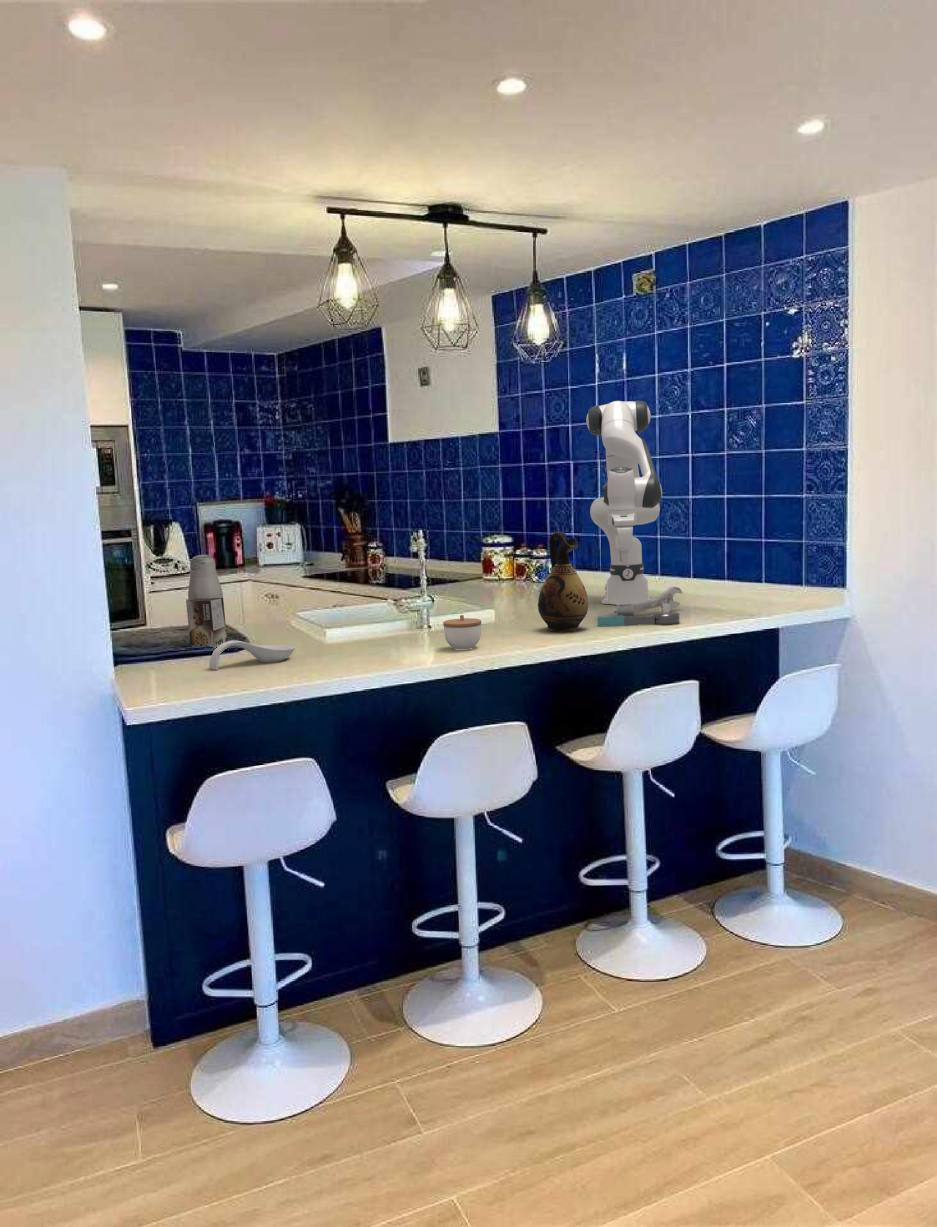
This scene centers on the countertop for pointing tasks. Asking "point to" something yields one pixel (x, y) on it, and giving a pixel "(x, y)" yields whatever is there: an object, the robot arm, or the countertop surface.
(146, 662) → the countertop surface
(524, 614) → the countertop surface
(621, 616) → the ratchet
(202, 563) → the grey tapered cylinder
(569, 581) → the ceramic jug
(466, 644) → the lidded jar
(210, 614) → the coffee box
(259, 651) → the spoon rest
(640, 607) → the wrench
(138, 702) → the countertop surface
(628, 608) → the socket
